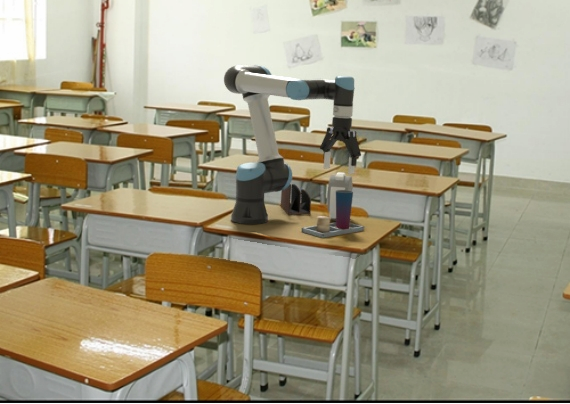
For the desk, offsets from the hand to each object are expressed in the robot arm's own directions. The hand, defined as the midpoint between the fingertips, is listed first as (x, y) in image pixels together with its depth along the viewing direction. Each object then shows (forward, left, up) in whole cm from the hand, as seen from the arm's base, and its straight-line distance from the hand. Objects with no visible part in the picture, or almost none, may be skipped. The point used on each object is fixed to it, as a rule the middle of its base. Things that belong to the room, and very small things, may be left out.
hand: (338, 171), depth 312 cm
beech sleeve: (+3, -10, -23) cm, 25 cm away
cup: (+3, +1, -23) cm, 23 cm away
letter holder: (-39, +13, -24) cm, 47 cm away
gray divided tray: (+3, -5, -24) cm, 24 cm away
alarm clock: (-13, +14, -24) cm, 31 cm away
